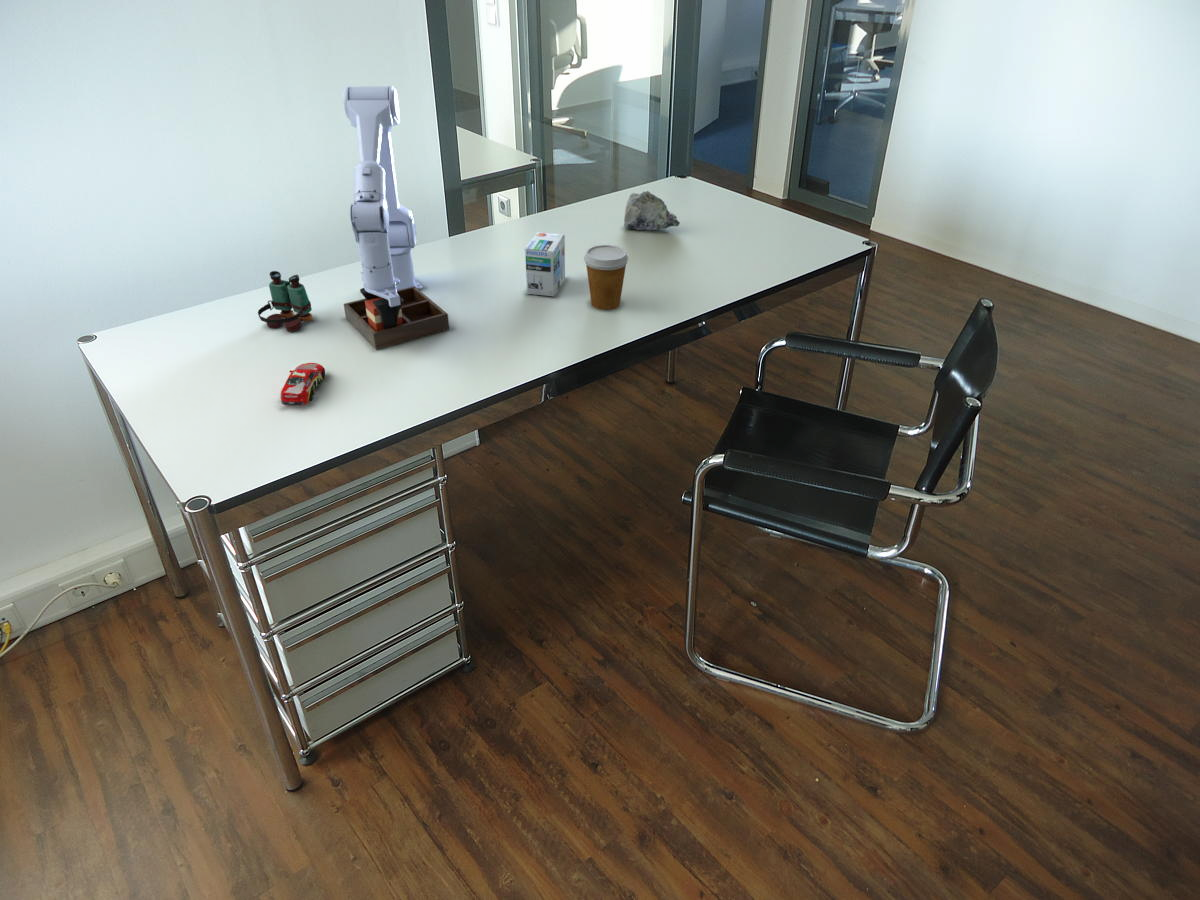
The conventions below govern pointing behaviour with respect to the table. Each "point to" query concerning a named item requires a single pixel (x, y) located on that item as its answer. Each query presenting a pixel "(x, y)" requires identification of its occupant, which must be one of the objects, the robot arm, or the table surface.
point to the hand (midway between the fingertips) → (385, 325)
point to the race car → (302, 384)
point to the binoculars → (287, 303)
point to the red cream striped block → (377, 316)
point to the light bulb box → (545, 264)
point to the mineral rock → (648, 213)
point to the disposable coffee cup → (605, 275)
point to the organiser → (416, 317)
